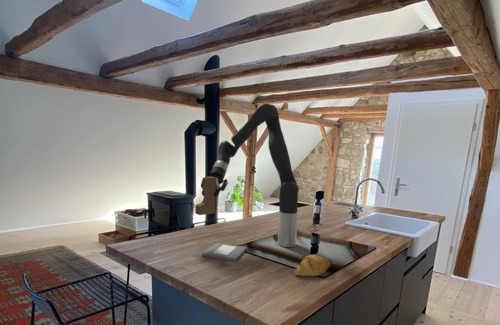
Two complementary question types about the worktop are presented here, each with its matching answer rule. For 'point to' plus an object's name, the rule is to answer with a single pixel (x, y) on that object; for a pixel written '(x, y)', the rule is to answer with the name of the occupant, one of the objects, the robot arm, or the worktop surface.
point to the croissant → (312, 266)
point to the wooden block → (207, 197)
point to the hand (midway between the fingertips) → (209, 195)
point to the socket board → (224, 251)
